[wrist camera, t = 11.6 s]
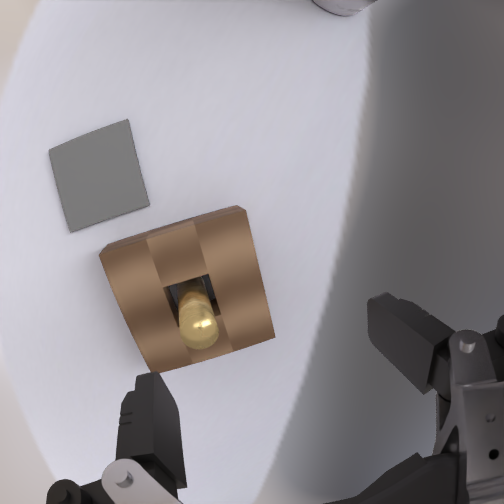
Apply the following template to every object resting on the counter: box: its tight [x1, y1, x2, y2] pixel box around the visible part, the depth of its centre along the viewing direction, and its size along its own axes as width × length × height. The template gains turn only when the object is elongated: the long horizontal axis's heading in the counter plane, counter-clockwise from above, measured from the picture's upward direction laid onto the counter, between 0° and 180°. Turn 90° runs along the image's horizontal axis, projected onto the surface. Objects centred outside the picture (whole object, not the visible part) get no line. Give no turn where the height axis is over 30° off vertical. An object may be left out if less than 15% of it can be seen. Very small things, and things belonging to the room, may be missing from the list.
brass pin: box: [177, 276, 219, 349], centre depth 27 cm, size 3×3×10 cm
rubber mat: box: [49, 119, 150, 233], centre depth 26 cm, size 9×9×1 cm
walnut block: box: [99, 205, 275, 373], centre depth 29 cm, size 14×14×4 cm
